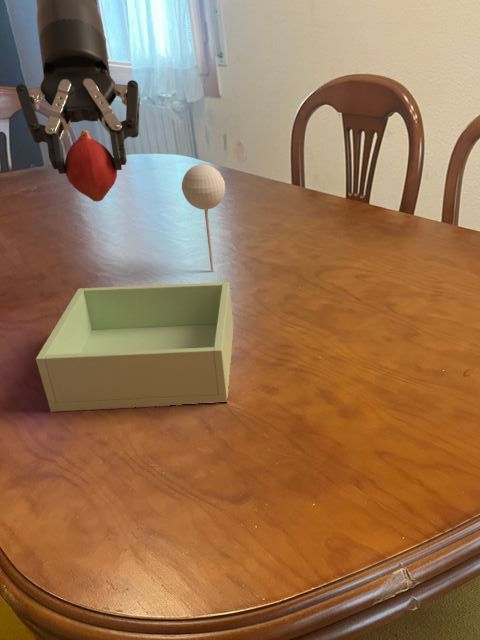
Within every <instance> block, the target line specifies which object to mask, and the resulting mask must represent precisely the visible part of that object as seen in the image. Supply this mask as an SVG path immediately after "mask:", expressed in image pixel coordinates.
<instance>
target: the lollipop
mask: <svg viewBox="0 0 480 640" xmlns="http://www.w3.org/2000/svg"><path fill="white" fill-rule="evenodd" d="M181 181H182V182H181V191H182V194H183V196H184V198H185V200H186V201H187V202H188V203H189V204H190V206H192V207H194V208H195V209H199V210H204V217H205V226H206V227H205V228H206V235H207V246H208V255H209V264H210V272H212V273H213V272H215V264H214V256H213V255H214V254H213V246H212V237H211V228H210V227H211V226H210V220H209V219H210V218H209V210H211V209H214V208H216V207H217V206H218V205H219V204H220V203H221V202H222V201H223V199H224V196H225V193H226V182H225V179H224V178H223V176H222V174H221V173H220V172H219V171H218V169H216V168H215V167H213V166H211V165H208V164H197V165H193V166H192V167H190V168H189V169H188V170H186V173H185V174H184V176H183V179H182V180H181Z"/></svg>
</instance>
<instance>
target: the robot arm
mask: <svg viewBox="0 0 480 640" xmlns="http://www.w3.org/2000/svg"><path fill="white" fill-rule="evenodd" d="M35 2H36V26H37V35H38V42H39V50H40V58H41V64H42V65H41V66H42V73H43V78H42V80H41V83H40V86H37V87H31V88H28V87H27V86H26V84H23V83H20V84H17V86H16V87H15V90H16V93H17V97H18V100H19V104H20V106H21V110H22V112H23V116H24V119H25V122H26V125H27V128H28V130H29V133H30V136H31V138H32V141H33V142H35V143H37V144H40V143H46V145H47V152H48V159H49V162H50V164H51V166H52V168H53V170H57V171H58V174H59V175H63V174H65V175H66V170H65V155H64V148H63V143H62V140H63V138H64V135H65V133H67V132H68V129H69V127H70V126H71V125H70V124H71V123H79V122H83V121H87V122H99V123H100V124H101V125H102V127H103V129H104V130H105V131H107V133H108V134H109V136H110V144H111V150H112V156H113V158H114V164H115V168H116V170H117V171H123V167H122V166H126V165H127V161H128V160H127V153H126V147H125V140H127V139H128V138H133V139H135V138H137V137H138V136H139V131H140V104H141V98H140V97H141V96H140V89H139V82H137V81H136V80H134V79H131V80H128V82H127V83H126V84H122V83H116V82H115V81H114V79H113V78H112V77H111V71H110V63H109V58H108V52H107V51H108V50H107V39H106V36H105V32H104V31H105V30H104V26H103V25H104V24H103V21H102V17H101V15H100V12H99V11H100V10H99V5H98V0H36V1H35ZM117 97H119V98H120V99H121V103H122V104H123V105H124V106H126V107H125V108H126V109H125V110H126V111H125V120H122V121H120V120H119V119H118V118H117V116H116V115H115V113H114V111H113V108H112V107H111V105H112V104H113V102H114V101H115V100H116V98H117ZM43 100H44V101H45V102H46V103H48V104H49V106H50V109H49V117H48V119H47V122H46V124H40V122H39V118H38V116H37V112H38V111H39V109H40V108H41V101H43Z"/></svg>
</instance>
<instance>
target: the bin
mask: <svg viewBox="0 0 480 640" xmlns="http://www.w3.org/2000/svg"><path fill="white" fill-rule="evenodd" d="M230 287H231V285H230V282H229V281H228V282H205V283H204V282H203V283H202V282H201V283H180V284H179V283H177V284H156V285H155V284H154V285H132V286H131V285H129V286H127V285H126V286H105V287H103V286H102V287H85V288H82V287H81V288H77V290H76V292H75V294H74V295H73V297H72V298H71V299H70V302H69V303H68V305H67V307H66V308H65V309H64V311H63V313H62V314H61V316H60V318H59V320H58V321H57V323H56V325H55V326H54V328H53V330H52V331H51V333H50V335H49V336H48V337H47V339H46V341H45V343H44V344H43V345H42V347H41V349H40V351H39V353H38V354H37V356H36V357H35V361H36V365H37V369H38V373H39V375H40V379H41V382H42V386H43V389H44V393H45V397H46V400H47V404H48V407H49V410H50V412H51V413H52V412H53V413H57V412H73V411H75V412H77V411H94V410H114V409H115V410H116V409H135V407H136V408H154V407H155V406H156V407H171V406H170V405H176V406H183V405H182V404H192V403H200V402H201V403H203V402H217V401H218V402H222V401H227V398H228V399H229V389H228V386H229V387H230V377H229V375H230V376H231V365H232V364H231V363H232V351H233V342H234V341H233V339H234V317H233V307H232V299H231V298H232V297H231V288H230ZM230 364H231V365H230ZM156 407H155V408H156Z"/></svg>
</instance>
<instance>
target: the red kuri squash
mask: <svg viewBox="0 0 480 640" xmlns="http://www.w3.org/2000/svg"><path fill="white" fill-rule="evenodd" d="M64 162H65V170H66V173H65V176H66V178H67V180H68V182H69V183H70V185H72V187H73V188H74V189H75V190H77V191H78V192H79V193H81V194H82V195H84V196H86V197H88V198H89V199H90V200H92V201H93V202H97V203H98V202H101V201H102V200H104V198H105V197H106V195H107V194H108V193H109V192H110V190H111V189H112V187H113V186H114V185H115V184H116V180H117V177H118V170H116V168H115V164H114V158H113V154H112V153H111V152H110V150H108V148H107V147H105V146H104V145H103V144H102V143H100V142H99V141H97V140H96V139H94V138H92V136H91V135H90V132H89V130H86V129H84V130H81V132H80V136H79V137H78V139H77V140H76V141H75V142H73V143H72V145H70V147H69V150H68V152H67V154H66V157H65V159H64Z"/></svg>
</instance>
